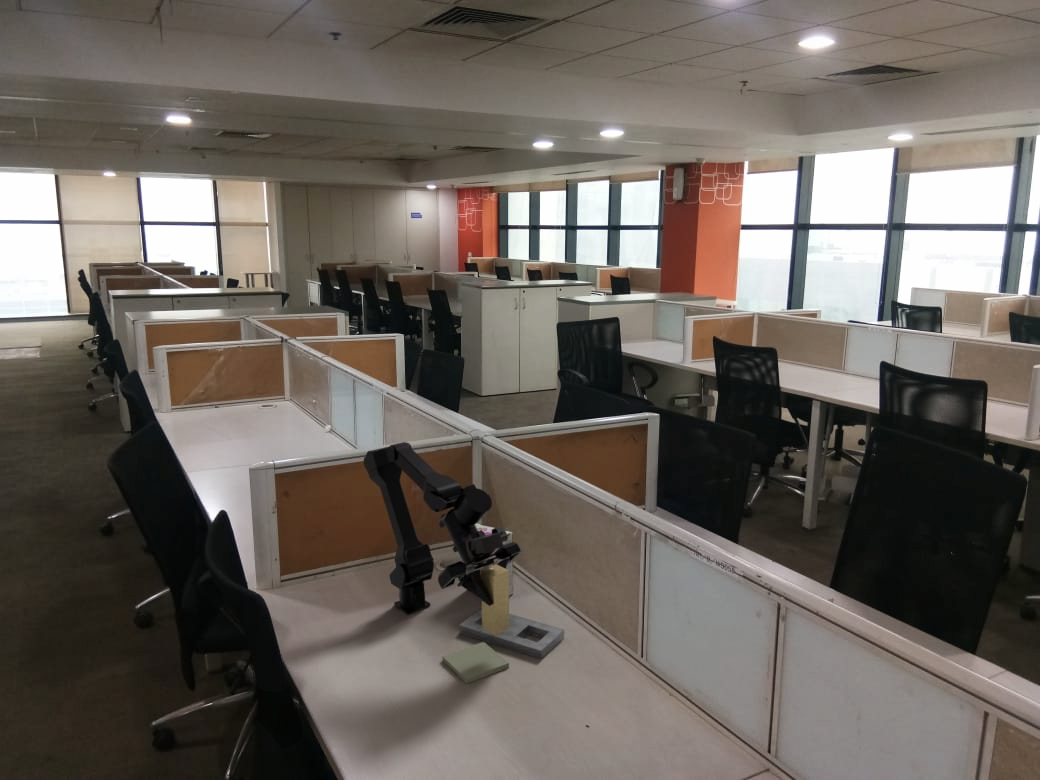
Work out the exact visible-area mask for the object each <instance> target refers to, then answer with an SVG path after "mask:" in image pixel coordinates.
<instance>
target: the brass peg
mask: <svg viewBox="0 0 1040 780" xmlns="http://www.w3.org/2000/svg"><path fill="white" fill-rule="evenodd" d="M481 580H482V582H483V584H484V586H485V588H486V589H487V591H488V593H489V595H490V597H491V600H492V602H493V604H492V605H491V606H489V605H487V604H486V603H485V602H483V601H482V600H481V608H482V625H481V626H482V628H483V629H484V630H486V631H488V632H489V633H491V634H493V635H497V634H499V633H501V632H503V631H505V630H507V629H509V614H510V596H509V570H507V569H505V568H503V567H501V566H499V565H497V564H495V565H492V566H490V567H487V568H485V569H482V570H481Z"/></svg>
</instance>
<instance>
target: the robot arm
mask: <svg viewBox="0 0 1040 780" xmlns="http://www.w3.org/2000/svg"><path fill="white" fill-rule="evenodd" d="M363 465H364V468H365V471H366V472H367V475H368V477H369V479H370V480H371V481H372V482H373V483H374V484H376V485H377V486H378V487H379V489H380V492H381V494H382V495H381V496H382V499H383V502H384V506H385V508H386V512H387V516H388V519H389V522H390V525H391V528H392V531H393V536H394V538H395V542H396V545H397V547H396V552H395V555H394V563H395V568H393V570H392V571H391V572H390V574H389V575H388V576H389V581H390V584H391V585H392V586H395V587H396V588H397V589H398V593H399V595H398V597H399V600H398V601H395V602H394V603H393V605H394V606H395V607H396V608H398V609H399V610H401V611H403V612H404V613H405V614H407V615H410V614H412V613H415V612H418V611H420V610H421V611H422V610H423V609H426V608H428V607H431V603H430V602H429V601H427V600H426V592H425V582H426V581H430V580H432V577H433V572H434V568H435V561H434V557H433V555H432V553H431V548H430V546H429V545H428V543H423V542H422V541H420V539H419V538H418V535H417V532H416V529H415V526H414V521H413V519H412V516H411V512H410V510H409V509H410V508H409V506H408V504H407V503H408V502H407V499H406V496H405V493H404V491H403V486H402V483H401V478H402V473H405V475H407V476H408V477H409V479H411V480H412V481H413V482H414V483H415V484H416V486H417V487H419V489H420V490H421V492H422V498H423V501H424V502H425V503H426V504H427V506H428V507H429V509H430V510H431V511H432V512H434V513H439V512H442V511H446V510H449V511H448V512H447V513H443V514H441V515H440V520H439V524H438V525H439V526H438V527H439V528H440V529H441V528H444V527H445V529H446V531H447V532H448V535H449V537H450V539H451V541H452V543H453V545H454V546H453V547H452V551H453V553H458V555H459V556H460V558H461V560H459V561H457V562H454V563H451V564H448V565H447V566H446V567H445V568H443V570H442V571H441V572H440V573H439V574H438V576H437V583H438V584H439V587H440V589H442V590H444V589H446V588H448V587H451V586H453V585H455V582H456V581H455V580H456V579H458V581H459V582H458V583H457V587H458V588H459V587H462V588H464V589H465V590H466V591H469V592H471V594H473V595H475V597H477V598H478V599H480V601H481V602H482V601H483V602H485V603H486V604H487V605H489V606H491V605H492V604H493V602H492V600H491V597H490V595H489V593H488V591H487V589H486V588H485V586H484V584H483V582H482V580H481V574H480V569H481V568H484V567H486V566H489V567H490V566H492V565H495V564H497V565H499V566H501V567H503V568H505V569H506V566H507V564H508V563H510V562H511V561H512V560H513V561H514V560H515V559H516V558H517V557H518V556H519V555H520V554H521V553H522V552H523V550H522V549H521V547H520V546H519V544H518V543H517V542H514V541H513V542H511V543H509V544H506V545H503V542H504V541H507V539H508V537H507V534H506V532H505V531H506V530H505V528H504V527H503V526H502V525H500V526H497V527H493V528H494V529H492V534H489V535H485V533H484V532H483V531H482V530H480V531H478V530H477V528H476V526H475V524H476V523H477V524H479V522H480V521H481V519H482V518H484V516H485V515H486V514H487V513H488V512H489V511H490V510H491V509H492V504H493V501H492V497H491V496H490V494H489V493H487V492H486V491H484V489H480V488H478V487H476V485H475V484H474V483H473V484H472V483H471V484H469V485H466V486H465V487H464V486H462V485H461V484H460V483H459V482H458V481H457V480H456V479H454V478H452V477H451V476H449V475H445V474H441V473H438V471H436V470H435V469H434V468H433V467H432V466H431V465H430V464H429V463H427V462H426V461H425V460H424V458H422V457H421V456H420V455H419V454H418V453H417V452H416V451H414V449H413V447H412V445H411V444H410V443H409V442H406V441H404V442H403V441H402V442H398V443H393V444H390V445H389V446H385V447H382V448H381V447H380V448H377V449H376V448H375V449H373V450H372V449H371V450H368V451H367V452H366V454H365V456H364V458H363ZM497 548H499V549H498V550H497V551H496V552H495V553H494V554H492V555H490V554H491V553H492V552H494V551H495V549H497ZM483 562H485V563H483ZM476 565H477V566H476Z"/></svg>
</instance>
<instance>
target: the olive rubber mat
mask: <svg viewBox="0 0 1040 780" xmlns="http://www.w3.org/2000/svg"><path fill="white" fill-rule="evenodd" d="M442 662H443V663H444V664H446V665H447V667H448V668H450V670H451V671H453V672H454V673H455V674H456V675H457V676H458V677H459V678H460V679H461V680H462V681H463V682H465V684H468V683H469V684H470V683H472V682H474V681H477V680H479V679H481V678H484V677H487V676H490V675H493V674H495V673H497V672H500V671H503V670H505V669H508V668H510V662H508V661H507V660H506V659H505V658H504V657H502V656H501V655H500V654H499V653H498V652H496V651H495V650H494V649H493V648H492V647H491V646H490V645H488V644H487V642H485V641H482V642H480V643H476V644H473V645H470V646H468V647H465V648H462V649H459V650H457V651H453V652H451V653H448V654H444V655H442Z"/></svg>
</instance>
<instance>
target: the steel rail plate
mask: <svg viewBox="0 0 1040 780" xmlns="http://www.w3.org/2000/svg"><path fill="white" fill-rule="evenodd" d="M458 631H459V634H461V635H463V636H467V637H470V638H473V639H475V640H476V639H477V640H480V641H482V642H485V643H488V644H491V645H495V646H499V647H502V648H504V649H508V650H511V651H514V652H517V653H520V654H522V655H527V656H529V657H533V658H535V659H538V660H542V659H543V658H544V657H546V656H547V655H548V654H549V653H550V652H551V651H552V650H553V649H554V648H555V647H557V645H558V644H560V643H561V642H562V641H563V640H564V639H565V629H563V628H560V627H557V626H553V625H549V624H546V623H543V622H540V621H536V620H533V619H529V618H526V617H523V616H520V615H516V614H512V613H509V629H507V630H505V631H503V632H501V633H499V634H497V635H493V634H491V633H489V632H488V631H486V630H484V629H483V628H482V607H481V608H480V609H479V610H478V611H475V613H473V614H472V615H470V616H469V617H468V618H467V619H465V620H464V621H463V622H461V623H460V624H458ZM528 634H530V635H532V636H536V637H540V638H541V639H540V640H538V642H536V641H532V640H530V639H526V638H525V637H527V636H528Z"/></svg>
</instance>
